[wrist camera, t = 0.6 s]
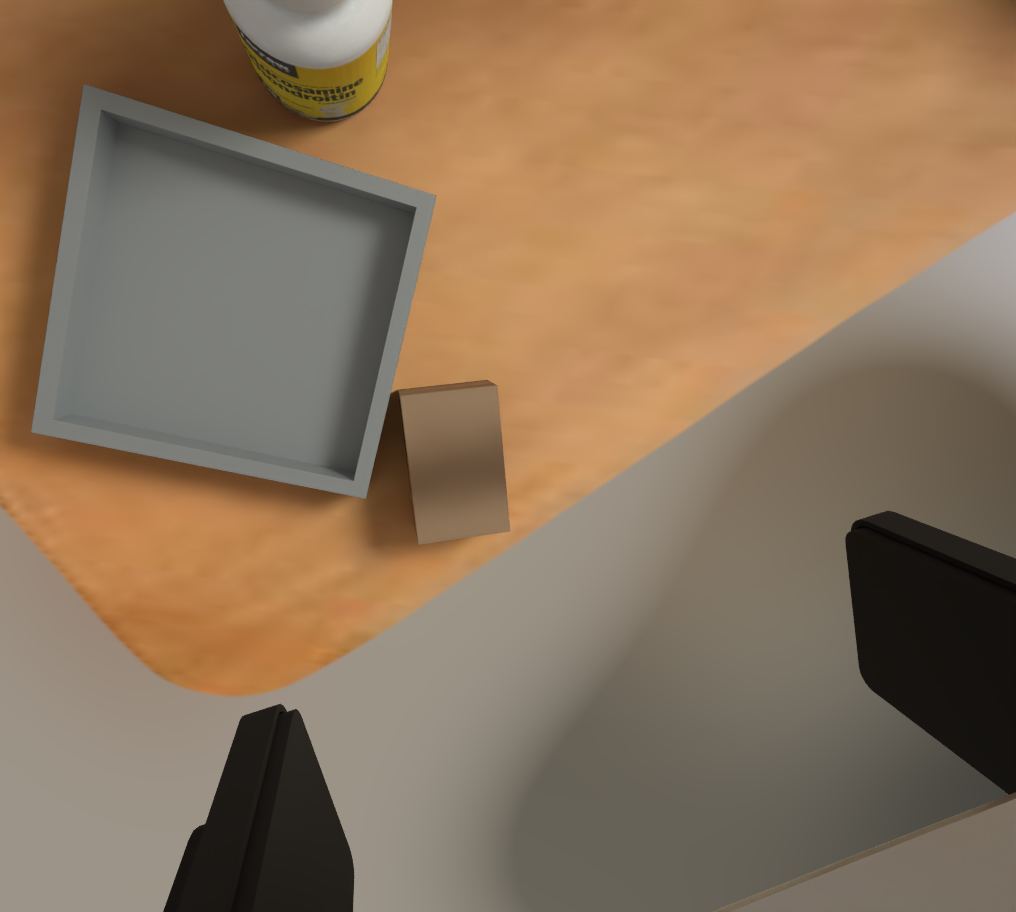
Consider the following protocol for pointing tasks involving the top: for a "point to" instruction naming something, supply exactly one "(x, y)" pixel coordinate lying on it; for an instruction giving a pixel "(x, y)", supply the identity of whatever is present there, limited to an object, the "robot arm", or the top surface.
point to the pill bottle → (317, 51)
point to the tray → (226, 299)
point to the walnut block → (455, 460)
